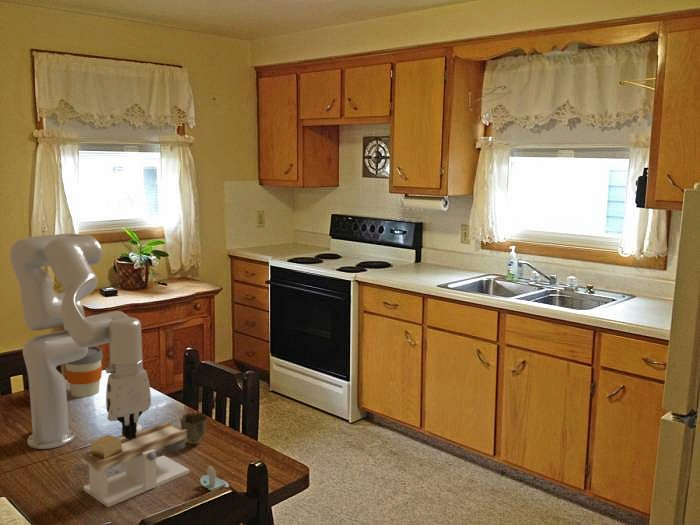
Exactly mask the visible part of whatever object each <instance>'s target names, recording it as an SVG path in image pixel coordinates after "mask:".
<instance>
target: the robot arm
mask: <svg viewBox="0 0 700 525" xmlns="http://www.w3.org/2000/svg"><path fill="white" fill-rule="evenodd" d="M102 259H103V249H102V246H101V244H100V242H99V241H98V240H97V238H96V237H94V236H92V235H89V234H78V233H61V234H60V233H58V234H49V235H37V236H29V237H24V238H21V239H18V240H16V241H15V242H14V243H13V244H12V245H11V248H10V251H9V260H10V264H11V267H12V270H13V272H14V274H15V277H16V278H17V282H18V285H19V291H20V300H21V305H22V306H21V307H22V313H23V320H24V324H25V325H26V327H27V328H28V329H29V330H30V331H35V332H36V331H37V332H38V331H44V330H50V329H55V328H58V327H59V328H60V327H63V330H60V331H54V332H53V331H52V332H50V333H49V332H48V333H44V334H40V335H37V336H34V337H31V338H30V339H28V340H26V342H25V343H24V344H23V346H22V356H23V359H24V360H23V361H24V363H25V367H26V372H27V377H28V378H27V379H28V387H29V389H28V390H29V398H30V400H29V401H30V412H31V413H30V415H31V426H32V434H31V435H29V437H28V438H27V440H26V441H27V445H28V446H29V447H30V448H33V449H36V450H37V449H38V450H46V449H47V450H48V449H56V448H58V447H62V446H65V445H68V443H70V442H72V441H73V440H74V439H75V437H76V433H75V431H74V430H73V429H71V428H69V414H68V412H69V410H68V399H67V398H68V397H67V396H68V395H67V385H66V384H67V382H66V377H65V376H64V375H63V374H62V373H61V372H60V371H59V370H58V369H57V367H58V366H62V365H64V364H65V363H69V362H73V361H76V360H80V359H82V358H84V357H85V356H86V354H87V352H88V347H93V346H94V347H98V346H100V345H104V344H109V359H110V360H109V366H108V367H106V368H105V373H106V374H108V377H107V382H106V392H105V406H106V408H105V409H106V412H107V413H108V414H107V420H108V421H109V422H117V421H118V422H120V423H121V434H122V433H123V436H124V437H125V438H127V439H129V440H131V439H132V438H133V439H134V438H136V432H137V429H136V423H137V422H138V418H139V419H140V417H141V415H142V414H143V413H145V412H147V411H149V409H150V408H151V406H152V394H151V386H150V380H149V378H148V376H149V375H148V373H147V370H146V369H144V368H143V366H144V365H143V344H142V343H143V342H142V340H143V337H142V322H141V321H140V320H139V319H138V318H136V317H133V316H132V317H131V316H129V315H128V314H126V313H124V312H123V311H121V310H114V311H109V312H104V313H98V314H93V315H89V316H85V311H84V310H85V309H84V306H83V303H82V301H81V300H83V299H85V298H86V297H87V296H89V295H90V294H92V292H93V291H94V290H96V287H97V286H98V282H99V279H98V276H97V275H96V273H95V272H94V270H93V268H92V267H91V266H95V265H98V264H100V262H101V261H102ZM43 267H50V269H51V270H52V272H53V273H54V276H55V277H56V279H57V280H58V282H59V284H60V285H61V287H62V288H63V291H64V292H61V293H55V289H54V282H53V279H52V277H51V275H50V274H49V273H48V272H47V270H45V269H44V268H43Z"/></svg>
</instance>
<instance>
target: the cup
mask: <svg viewBox="0 0 700 525" xmlns="http://www.w3.org/2000/svg"><path fill="white" fill-rule="evenodd" d="M207 418H208V417H207V414H205V413H202V412H196V413H195V412H192V414H191V413H190V412H187V413H186V414H183V415H182V417H180V418H179V420H180V427H181V430H184V429H186V430H187V438H185V440H187V443H188V445H191V446H195V445H199V444H200V443H201V441H202V440H201V439H202V438H203V436H204V435H205V433H206V429H207V428H206V427H207Z"/></svg>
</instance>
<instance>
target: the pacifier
mask: <svg viewBox="0 0 700 525" xmlns="http://www.w3.org/2000/svg"><path fill="white" fill-rule="evenodd" d="M200 484H201V486H202V487H203V488H206V489H208V490H209V491H210V492H214V491H213V490H214V489H217V488H221V487H228V488H229V485H230V484H229V483H228V482H227V481H226V480H224V479H221V478H219V477H217V472H216V470H215V468H214V467H212V466H211V465H208V466H207V468H206V474H204V475H202V476H201V477H200Z"/></svg>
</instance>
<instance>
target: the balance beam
mask: <svg viewBox="0 0 700 525" xmlns="http://www.w3.org/2000/svg"><path fill="white" fill-rule="evenodd" d="M186 438H187V430H186V429H184V430H182V429H181V430H180V429H179V428H176V427H175V426H173V425H172V421H168V422H164V423H162V424H158V425H156V426H153V427H151V428H147V429H145V430H142V431H141V432H139V433H136V438H134V439H133V438H132V439H131V440H129V439H127V438H125V437H124V438H122V439H121V445H122V453H119V454H117V455H114V456H111V457H108V458H106V459H103V460H100V461H99V460H97V459H95V458H93V457H92V455H91V448H90V449H88V450H85V451H81V453H80V458H81V462H82V463H84V464H85V465H87V466H88V467H89V466H90V467H91V468H93V469H94V470H96V471H97V472H99V471H102V470H104V469H107V470H108V469H110V468H112V467H114V466H118V465H119V464H120V463H123V462H125V461H128V460H130V459H133V458H136V457H138V456H141V455H142V453H143V452H146V451H149V450H151V449H154V450H155V451H156V450H159V449H162V448H163V449H166V451H167V450H168V451H169V452H171V453H174V452H176V451H179V450H182V449H185V448H186Z"/></svg>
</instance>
